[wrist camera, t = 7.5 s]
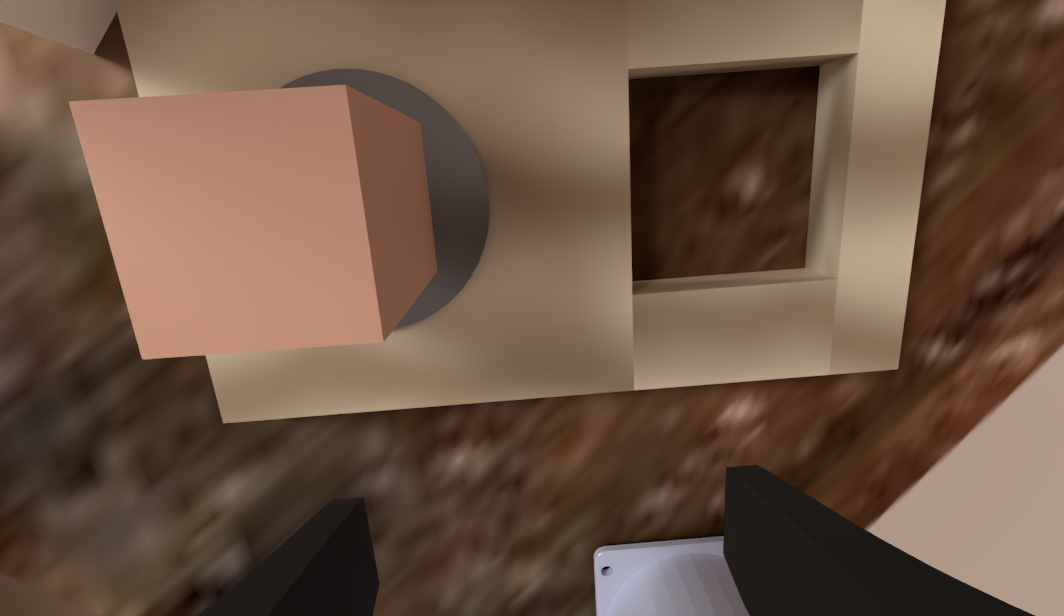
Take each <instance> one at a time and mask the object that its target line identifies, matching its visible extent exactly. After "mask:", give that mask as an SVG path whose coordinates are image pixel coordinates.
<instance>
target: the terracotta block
mask: <svg viewBox="0 0 1064 616" xmlns="http://www.w3.org/2000/svg"><path fill="white" fill-rule="evenodd" d="M69 104H70V107H71V111H72V114H73V118H74V121H75V125H76V128H77V132H78V136H79V139H80V143H81V146H82V150H83V153H84V157H85V160H86V164H87V167H88V171H89V174H90V178H91V181H92V185H93V188H94V192H95V195H96V199H97V202H98V206H99V209H100V213H101V216H102V220H103V223H104V227H105V230H106V234H107V237H108V241H109V244H110V248H111V251H112V255H113V258H114V262H115V265H116V269H117V272H118V276H119V279H120V283H121V286H122V290H123V293H124V297H125V300H126V304H127V307H128V311H129V314H130V318H131V321H132V325H133V329H134V332H135V336H136V339H137V343H138V346H139V350H140V353H141V357H142V359H155V358H169V357H183V356H198V355H212V354H226V353H240V352H255V351H269V350H283V349H297V348H312V347H326V346H340V345H354V344H369V343H383V342H384V341H385V340H386V339H387V337H388V336H389V335H390V333H391V332H392V331H393V329H394V328H395V327H396V325H397V324H398V323H399V321H400V320H401V319H402V318H403V316H404V315H405V314H406V312H407V311H408V310H409V308H410V307H411V306H412V304H413V303H414V302H415V300H416V299H417V298H418V296H419V295H420V294H421V292H422V291H423V290H424V288H425V287H426V286H427V284H428V283H429V282H430V280H431V279H432V278H433V276H434V275H435V274H436V272H437V271H438V270H437V261H436V252H435V244H434V235H433V226H432V217H431V208H430V200H429V191H428V182H427V173H426V164H425V156H424V147H423V138H422V129H421V123H420V122H418V121H416V120H414V119H412V118H410V117H408V116H406V115H404V114H402V113H400V112H398V111H396V110H394V109H393V108H391V107H389V106H387V105H385V104H383V103H381V102H379V101H377V100H375V99H373V98H371V97H369V96H367V95H365V94H363V93H361V92H359V91H357V90H355V89H353V88H351V87H349V86H347V85H331V86H315V87H299V88H282V89H266V90H250V91H234V92H217V93H201V94H185V95H168V96H152V97H136V98H119V99H103V100H87V101H70V102H69Z"/></svg>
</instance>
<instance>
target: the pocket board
mask: <svg viewBox="0 0 1064 616" xmlns="http://www.w3.org/2000/svg"><path fill="white" fill-rule="evenodd" d="M114 2H115V5H116V9H117V13H118V17H119V21H120V25H121V29H122V33H123V36H124V40H125V44H126V48H127V52H128V56H129V60H130V64H131V67H132V71H133V75H134V79H135V83H136V87H137V91H138V95H139V97H152V96H168V95H185V94H201V93H217V92H234V91H250V90H266V89H282V88H299V87H315V86H331V85H347V86H349V87H351V88H353V89H355V90H357V91H359V92H361V93H363V94H365V95H367V96H369V97H371V98H373V99H375V100H377V101H379V102H381V103H383V104H385V105H387V106H389V107H391V108H393V109H394V110H396V111H398V112H400V113H402V114H404V115H406V116H408V117H410V118H412V119H414V120H416V121H418V122H420V123H421V129H422V138H423V147H424V156H425V164H426V173H427V182H428V191H429V200H430V208H431V217H432V226H433V235H434V244H435V252H436V261H437V270H438V271H437V272H436V274H435V275H434V276H433V278H432V279H431V280H430V282H429V283H428V284H427V286H426V287H425V288H424V290H423V291H422V292H421V294H420V295H419V296H418V298H417V299H416V300H415V302H414V303H413V304H412V306H411V307H410V308H409V310H408V311H407V312H406V314H405V315H404V316H403V318H402V319H401V320H400V321H399V323H398V324H397V325H396V327H395V328H394V329H393V331H392V332H391V333H390V335H389V336H388V337H387V339H386V340H385V341H384V342H383V343H369V344H354V345H340V346H326V347H312V348H297V349H283V350H269V351H255V352H240V353H226V354H212V355H206V358H207V362H208V366H209V370H210V374H211V378H212V382H213V386H214V389H215V393H216V397H217V401H218V405H219V409H220V413H221V417H222V420H223V423H233V422H246V421H258V420H271V419H283V418H296V417H308V416H321V415H333V414H346V413H358V412H371V411H383V410H396V409H408V408H421V407H433V406H446V405H458V404H471V403H483V402H496V401H508V400H521V399H533V398H546V397H558V396H571V395H583V394H596V393H608V392H621V391H633V390H646V389H658V388H671V387H683V386H696V385H708V384H721V383H733V382H746V381H758V380H771V379H783V378H796V377H808V376H821V375H833V374H846V373H858V372H871V371H883V370H896V369H898V366H899V358H900V350H901V343H902V335H903V327H904V320H905V312H906V305H907V297H908V289H909V282H910V274H911V266H912V259H913V251H914V243H915V236H916V228H917V220H918V213H919V205H920V197H921V190H922V182H923V174H924V167H925V159H926V151H927V144H928V136H929V128H930V121H931V113H932V106H933V98H934V90H935V83H936V75H937V67H938V60H939V52H940V44H941V37H942V29H943V21H944V14H945V6H946V0H114ZM810 66H820V72H819V85H818V99H817V112H816V126H815V139H814V153H813V166H812V180H811V193H810V207H809V221H808V234H807V248H806V261H805V268H799V269H786V270H773V271H760V272H747V273H734V274H721V275H708V276H695V277H682V278H669V279H656V280H643V281H632V248H631V194H630V140H629V85H628V79H641V78H655V77H669V76H683V75H697V74H712V73H726V72H740V71H754V70H768V69H782V68H796V67H810Z"/></svg>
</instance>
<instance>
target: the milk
mask: <svg viewBox="0 0 1064 616" xmlns="http://www.w3.org/2000/svg"><path fill="white" fill-rule="evenodd" d="M116 13H117V9H116V5H115V2H114V0H0V22H1V23H4V24H7V25H10V26H13V27H16V28H19V29H22V30H24V31H27V32H30V33H33V34H36V35H39V36H42V37H45V38H48V39H51V40H54V41H57V42H60V43H62V44H65V45H68V46H71V47H74V48H77V49H80V50H83V51H86V52H89V53H92V54H94V53H95V51H96V49H97V47H98V45H99V43H100V42H101V40H102V38H103V36H104V34H105V33H106V31H107V29H108V27H109V25H110V23H111V22H112V20H113V18H114V16H115V14H116Z"/></svg>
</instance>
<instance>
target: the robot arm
mask: <svg viewBox="0 0 1064 616" xmlns="http://www.w3.org/2000/svg"><path fill="white" fill-rule="evenodd" d="M606 566H609V567H610V568H609V569H602V568H603V567H606ZM594 574H595V596H596V616H1035V615H1032V614H1030V613H1028V612H1025V611H1023V610H1021V609H1019V608H1016V607H1014V606H1012V605H1010V604H1008V603H1006V602H1004V601H1001V600H999V599H997V598H995V597H993V596H991V595H989V594H987V593H984V592H982V591H980V590H978V589H976V588H974V587H972V586H970V585H968V584H966V583H963V582H961V581H959V580H957V579H955V578H953V577H951V576H949V575H947V574H945V573H943V572H941V571H939V570H937V569H935V568H933V567H931V566H929V565H928V564H925V563H924V562H922V561H920V560H918V559H916V558H915V557H913V556H911V555H909V554H907V553H906V552H904V551H902V550H900V549H898V548H896V547H894V546H893V545H891V544H889V543H887V542H885V541H883V540H882V539H880V538H878V537H876V536H875V535H873V534H871V533H870V532H868V531H866V530H864V529H863V528H861V527H859V526H858V525H856V524H854V523H852V522H851V521H849V520H847V519H846V518H844V517H842V516H841V515H839V514H837V513H836V512H834V511H832V510H831V509H829V508H828V507H826V506H824V505H823V504H821V503H819V502H818V501H816V500H815V499H813V498H811V497H810V496H808V495H806V494H805V493H803V492H802V491H800V490H798V489H797V488H795V487H793V486H792V485H790V484H789V483H787V482H785V481H784V480H782V479H780V478H779V477H777V476H775V475H774V474H772V473H770V472H769V471H767V470H765V469H763V468H761V467H759V466H758V465H751V466H738V467H726V486H725V514H724V536H717V537H706V538H694V539H682V540H670V541H658V542H647V543H635V544H623V545H611V546H603V547H600V548H598V549H597V550H596V551H595V553H594ZM378 587H379V579H378V573H377V568H376V562H375V557H374V551H373V546H372V541H371V535H370V530H369V524H368V519H367V513H366V508H365V503H364V497H363V498H351V499H338V500H332V501H331V502H330V503H328V504H327V505H326V506H325V507H323V508H322V509H321V510H320V511H319V512H318V513H317V514H315V515H314V516H313V517H312V518H311V519H310V520H309V521H308V522H306V523H305V524H304V525H303V526H302V527H301V528H300V529H299V530H298V531H296V532H295V533H294V534H293V535H292V536H291V537H290V538H289V539H288V540H286V541H285V542H284V543H283V544H282V545H281V546H280V547H279V548H277V549H276V550H275V551H274V552H273V553H272V554H271V555H270V556H268V557H267V558H266V559H265V560H264V561H263V562H262V563H261V564H259V565H258V566H257V567H256V568H255V569H254V570H253V571H252V572H250V573H249V574H248V575H247V576H246V577H245V578H243V579H242V580H241V581H240V582H239V583H237V584H236V585H235V586H234V587H232V588H231V589H230V590H229V591H228V592H226V593H225V594H224V595H223V596H222V597H220V598H219V599H218V600H217V601H215V602H214V603H213V604H212V605H211V606H209V607H208V608H207V609H206V610H205V611H203V612H202V613H201V614H200V615H198V616H373V611H374V606H375V602H376V597H377V592H378Z"/></svg>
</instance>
